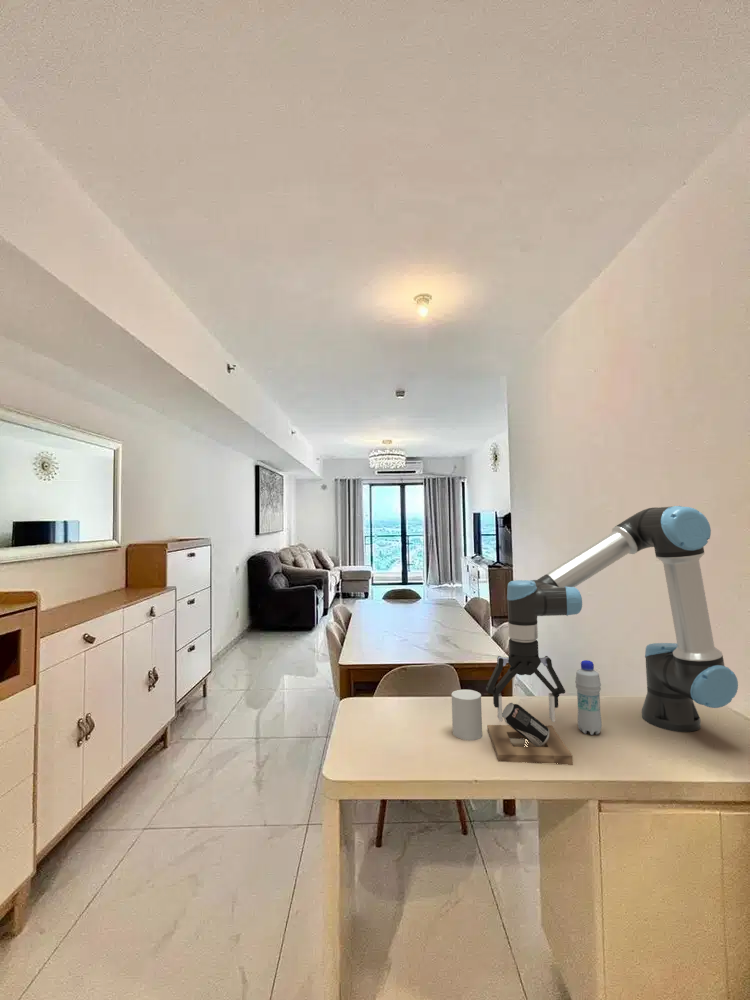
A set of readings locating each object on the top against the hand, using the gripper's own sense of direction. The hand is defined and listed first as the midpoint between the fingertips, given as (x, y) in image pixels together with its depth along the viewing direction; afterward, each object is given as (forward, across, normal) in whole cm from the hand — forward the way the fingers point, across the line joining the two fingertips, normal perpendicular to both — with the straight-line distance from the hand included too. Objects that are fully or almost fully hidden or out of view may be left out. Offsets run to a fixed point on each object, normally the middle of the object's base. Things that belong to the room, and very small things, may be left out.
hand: (526, 719), depth 131 cm
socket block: (+8, 0, 0) cm, 8 cm away
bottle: (+8, -20, -11) cm, 24 cm away
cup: (+8, +15, -6) cm, 18 cm away
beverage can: (+5, -4, +1) cm, 7 cm away
